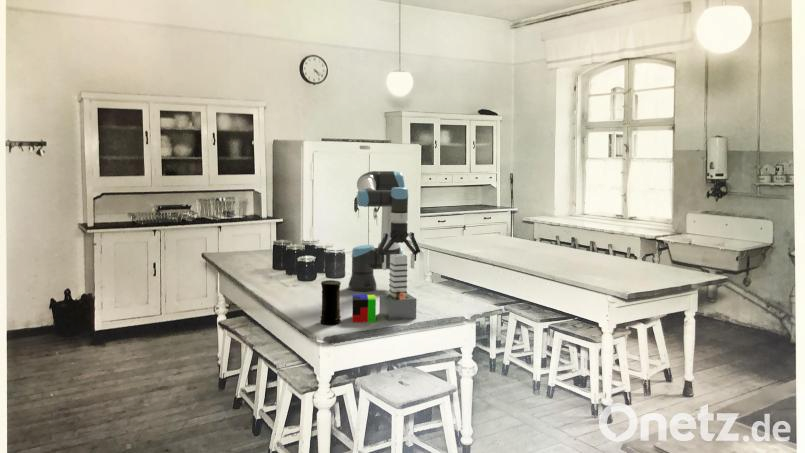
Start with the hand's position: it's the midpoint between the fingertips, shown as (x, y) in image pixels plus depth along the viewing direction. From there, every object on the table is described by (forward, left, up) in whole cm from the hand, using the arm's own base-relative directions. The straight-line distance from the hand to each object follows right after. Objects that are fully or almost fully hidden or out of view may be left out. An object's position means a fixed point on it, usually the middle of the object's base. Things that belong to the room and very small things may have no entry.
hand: (398, 269), depth 296 cm
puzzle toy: (-12, -11, -22) cm, 27 cm away
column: (0, 0, -14) cm, 14 cm away
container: (-23, -22, -22) cm, 39 cm away
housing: (0, 0, -22) cm, 22 cm away
